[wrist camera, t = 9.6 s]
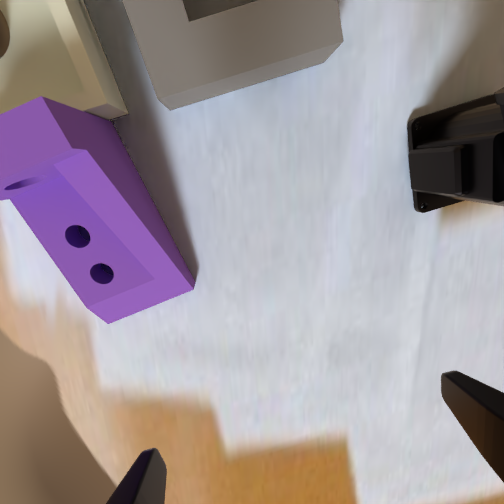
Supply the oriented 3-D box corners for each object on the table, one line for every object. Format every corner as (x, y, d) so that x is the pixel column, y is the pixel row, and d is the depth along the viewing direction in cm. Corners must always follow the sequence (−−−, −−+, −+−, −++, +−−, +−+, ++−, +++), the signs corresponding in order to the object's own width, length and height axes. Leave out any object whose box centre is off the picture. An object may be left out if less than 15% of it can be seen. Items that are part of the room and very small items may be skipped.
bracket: (17, 164, 17) (-111, 164, 11) (113, 122, 17) (41, 96, 10) (116, 312, 21) (66, 379, 14) (196, 280, 21) (181, 333, 14)
